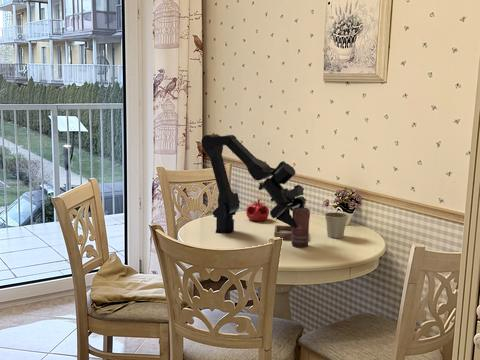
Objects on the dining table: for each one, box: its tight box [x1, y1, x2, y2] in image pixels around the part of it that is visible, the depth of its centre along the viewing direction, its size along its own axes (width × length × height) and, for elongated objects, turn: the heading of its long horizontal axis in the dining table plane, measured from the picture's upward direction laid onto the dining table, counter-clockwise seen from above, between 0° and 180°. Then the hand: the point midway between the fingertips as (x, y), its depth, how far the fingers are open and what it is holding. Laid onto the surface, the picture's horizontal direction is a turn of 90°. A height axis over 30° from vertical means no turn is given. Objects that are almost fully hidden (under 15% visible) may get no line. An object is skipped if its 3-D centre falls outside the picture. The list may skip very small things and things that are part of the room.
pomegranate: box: [245, 198, 270, 222], centre depth 246 cm, size 10×10×9 cm
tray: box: [273, 224, 292, 241], centre depth 222 cm, size 12×12×2 cm
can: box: [291, 206, 311, 249], centre depth 207 cm, size 6×6×14 cm
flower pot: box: [323, 211, 349, 239], centre depth 221 cm, size 9×9×9 cm
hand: (302, 224), depth 207 cm, fingers open, 9 cm apart
